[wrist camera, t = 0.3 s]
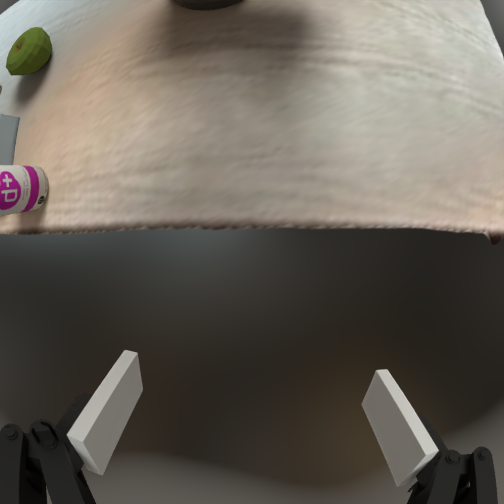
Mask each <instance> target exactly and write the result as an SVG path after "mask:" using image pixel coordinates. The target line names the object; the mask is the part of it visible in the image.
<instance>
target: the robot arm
mask: <svg viewBox="0 0 504 504" xmlns="http://www.w3.org/2000/svg"><path fill="white" fill-rule="evenodd" d="M175 1H176V2H177V3H178V4H179V5H181V6H184V7H186V8H190V9H197V10H209V9H217V8H222V7H226V6H229V5H232V4H235V3H237V2H239V1H241V0H175ZM142 391H143V387H142V381H141V375H140V367H139V360H138V353H136V352H132V351H127V350H125V351H124V352H123V353H122V355H121V356H120V358H119V359H118V360H117V362H116V363H115V364H114V366H113V367H112V369H111V370H110V372H109V373H108V374H107V376H106V377H105V379H104V380H103V381H102V383H101V384H100V386H99V387H98V389H97V390H96V392H95V393H94V395H93V396H91V395H88V394H86V393H83V394H81V395H80V396H78V397H77V398H76V399H75V400H74V401H73V403H72V404H71V406H70V407H69V408H68V410H67V412H66V413H65V414H64V415H63V417H62V418H61V419H60V421H59V423H58V424H57V425H56V427H55V426H54V424H53V423H52V422H50V421H48V420H43V419H40V420H37V421H35V422H33V423H32V424H31V426H30V427H29V433H30V434H27V433H24V432H23V431H22V429H21V428H20V427H19V426H18V425H16V424H7V425H5V426H4V427H3V428H2V429H1V431H0V504H47V494H46V486H47V489H48V492H49V495H50V498H51V501H52V504H96V502H95V500H94V498H93V496H92V493H91V491H90V489H89V486H88V484H87V482H86V479H85V477H84V474H83V472H82V470H81V468H82V466H83V464H84V465H85V466H86V468H87V469H88V470H90V471H92V472H95V473H97V474H100V475H103V473H104V471H105V468H106V466H107V464H108V462H109V460H110V457H111V455H112V453H113V451H114V449H115V447H116V444H117V442H118V440H119V438H120V436H121V434H122V431H123V429H124V427H125V425H126V423H127V421H128V419H129V417H130V415H131V413H132V411H133V409H134V407H135V405H136V403H137V401H138V399H139V397H140V394H141V392H142ZM362 406H363V409H364V411H365V413H366V415H367V417H368V420H369V422H370V424H371V426H372V428H373V431H374V433H375V435H376V438H377V440H378V442H379V445H380V447H381V449H382V452H383V454H384V456H385V459H386V461H387V463H388V466H389V468H390V470H391V473H392V475H393V478H394V480H395V483H396V485H397V487H398V486H401V485H404V484H408V483H410V482H411V481H412V480H413V479H414V478H415V477H417V480H418V481H417V482H416V483H415V484H414V485H413V486H412V487H411V488H410V489H409V490H408V492H410V491H411V490H412V489H413V491H412V493H411V496H410V498H409V500H408V502H407V504H498V500H497V488H496V479H495V472H494V465H493V459H492V454H491V452H490V451H489V450H488V449H487V448H485V447H478V448H477V449H475V450H474V452H473V453H472V454H467V455H461V454H459V453H458V452H457V451H455V450H448V449H447V448H446V446H445V444H444V443H443V441H442V439H441V438H440V436H439V435H438V433H437V432H436V431H435V429H434V427H433V426H432V424H431V422H430V421H429V419H428V418H427V417H426V416H424V415H423V414H422V413H418V414H416V413H415V411H414V410H413V408H412V406H411V405H410V403H409V402H408V400H407V399H406V397H405V396H404V394H403V393H402V391H401V389H400V388H399V386H398V385H397V383H396V382H395V381H394V379H393V377H392V376H391V375H390V373H389V371H388V370H376V372H375V375H374V377H373V379H372V382H371V384H370V387H369V389H368V392H367V393H366V396H365V398H364V400H363V403H362ZM469 483H470V487H469Z"/></svg>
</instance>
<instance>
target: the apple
mask: <svg viewBox="0 0 504 504" xmlns="http://www.w3.org/2000/svg"><path fill="white" fill-rule="evenodd" d="M51 51H52V44H51V41H50V37H49V36H48V34H47V33H46V32H45V31H44V30H43V29H42V28H39V27H35V28H30V29H29V30H27V31H26V32H24V33H23V34H22V35H21V36H20V37H19V38H18V39H17V40H16V42H15V43H14V44H13V46H12V48H11V50H10V52H9V54H8V57H7V63H6V68H7V69H8V71H9V73H10V74H11V75H26V74H30V73H34V72H36V71H38V70H39V69H40V68H41V67H42V66H43V65H45V63H46V62H47V61H48V59H49V57H50V54H51Z"/></svg>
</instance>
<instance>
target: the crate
mask: <svg viewBox="0 0 504 504" xmlns="http://www.w3.org/2000/svg"><path fill="white" fill-rule="evenodd" d="M19 119H20V118H19V117H14V116H9V115H4V114H0V165H13V158H14V150H15V143H16V136H17V130H18V125H19Z"/></svg>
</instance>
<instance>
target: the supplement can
mask: <svg viewBox="0 0 504 504" xmlns="http://www.w3.org/2000/svg"><path fill="white" fill-rule="evenodd" d="M47 191H48V181H47V177H46V174H45V172H44V170H43V169H42V168H41V167H39V166H23V165H0V216H4V215H9V214H14V213H20V212H25V211H31V210H37V209H38V208H39V207H41V206H42V204H43V203H44V201H45V198H46V195H47Z"/></svg>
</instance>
